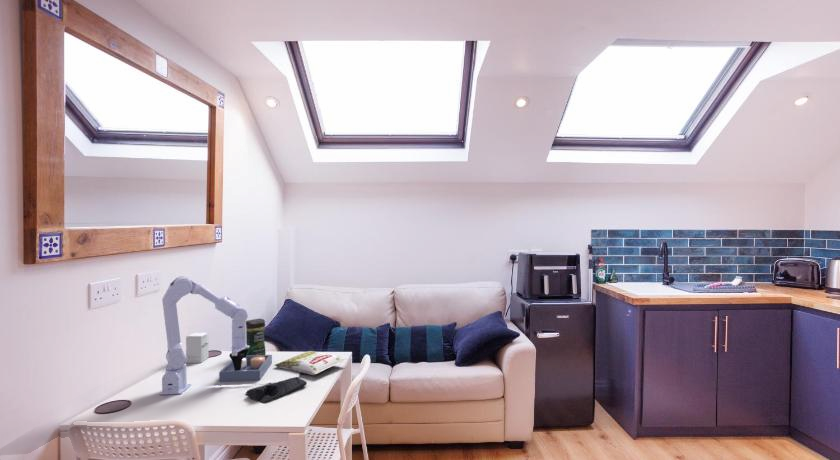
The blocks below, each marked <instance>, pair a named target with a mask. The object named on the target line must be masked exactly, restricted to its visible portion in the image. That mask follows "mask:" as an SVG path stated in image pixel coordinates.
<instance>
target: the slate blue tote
mask: <svg viewBox="0 0 840 460" xmlns="http://www.w3.org/2000/svg"><path fill="white" fill-rule="evenodd" d="M259 356H262V357H265V361H264V363H263V364H262V365H261V367H260V368H259V369H257V370H254V369H251V358H253V357H259ZM246 360H247V370H239V371H234V365H233V362H232V360H230V361H229V362H228V363H227V364H226V365H225V366H224V367H223V368H222V369H220V370H219V372H218V377H219V380H218V381H219V383H224V382H226V383H229V382H249V381H251V382H252V381H253V382H254V381H261V380H262V379H263V377H264V376H265V374H266V373H267V371H268V370H269V369H270V367H271V366H272V364H273V355H272V354H266V355H251V356H246Z"/></svg>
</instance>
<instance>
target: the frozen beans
mask: <svg viewBox="0 0 840 460" xmlns="http://www.w3.org/2000/svg"><path fill="white" fill-rule="evenodd" d="M345 361H346V359H345V358H343V357H340V356H338V355H334V354H329V353H324V352H318V351H313V350H308V351H305V352H303V353H300V354H297V355H295V356H292V357H290V358H288V359H286V360H283V361H281V362H278V363H275V364H274V366H276V367H277V368H279V369H283V370H290V371H295V372H299V373H301V374H304V375H305V374H306V375H310V376H315V375H317V374H319V373H321V372H323V371H325V370H327V369H329V368H331V367H333V366H336V365H338V364H341V363H344V362H345Z"/></svg>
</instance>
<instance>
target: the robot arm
mask: <svg viewBox="0 0 840 460" xmlns="http://www.w3.org/2000/svg"><path fill="white" fill-rule="evenodd" d="M188 294H190V295H199V296H201V297H203V298H204V299H206V300H208V301H209V302H211V303H213V304H214V306H215V307H214V309H216V310H217V311H219V312H220V313H222V314H224V315H225V316H227V317H230V319H231V353H229V358H230V359H231V360H232V362H233V365H234V369H235V370H241V365H242V359H243V357H246V356H247V353H248V351H249V347H250V346H249V345H247V339H246V321H247V319H248V318H249V315H248V312H247V310H246V309H244V308H243V307H242V306H241V305H240V304H239V303H237V304H236V303H235V302H234V301H232V300H231V298H230V297H229V296H227V297H226V296H222V297H220V296H219V295H216V293H214V292H212V291H211V290H209V289H207V288H206V287H205V286H204V285H202V284H201V283H198V282H196V281H195V280H193V279H189V278H188V277H187V276H179V277H176V278H175V279H173V281H172V282H170V283H169V286H168V288H167V289H166V291H165V293H164V295H163V297H162V299H161V301H162V308H163V315H164V316H163V317H164V325H165V326H164V327H165V333H166V340H167V352H166V354H165V358H166V359H165V360H166V361H167V364H166V365H165V373H164V374H163V375H162V377H161V378H162V379H161V388H162V389H161V392H160V393H159V395H163V396H164V395H182V394H183V393H184V392H185V391H186V390H187V389H188V388H189V387H190V386H191V385H192V384H191V383H187V382H188V381H187V379H188V377H187V363H186V354H185V353H184V351H183V346H182V341H181V333H180V324H179V316H178V307H177V303H178V302H179V301H180V300H181V299H182V298H183V297H185V296H187V295H188ZM231 360H230V361H231Z"/></svg>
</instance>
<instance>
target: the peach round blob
mask: <svg viewBox="0 0 840 460" xmlns="http://www.w3.org/2000/svg"><path fill="white" fill-rule="evenodd" d="M264 361H265V357H262V356H259V357H253V358H251V369H254V370H257V369H259V368H260V367H261V365H262V364H263V363H264Z"/></svg>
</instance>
